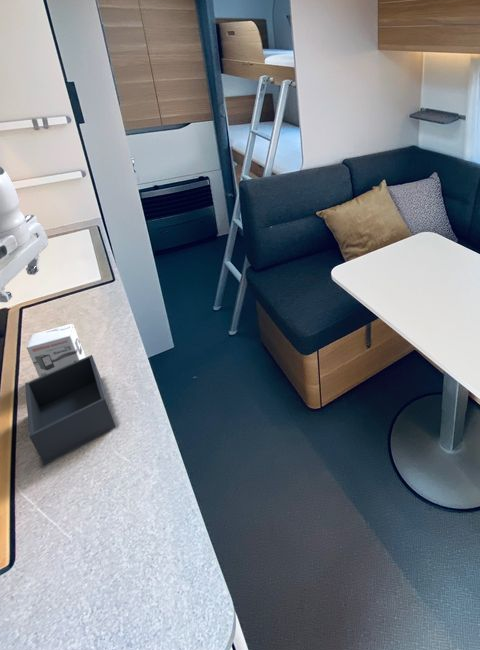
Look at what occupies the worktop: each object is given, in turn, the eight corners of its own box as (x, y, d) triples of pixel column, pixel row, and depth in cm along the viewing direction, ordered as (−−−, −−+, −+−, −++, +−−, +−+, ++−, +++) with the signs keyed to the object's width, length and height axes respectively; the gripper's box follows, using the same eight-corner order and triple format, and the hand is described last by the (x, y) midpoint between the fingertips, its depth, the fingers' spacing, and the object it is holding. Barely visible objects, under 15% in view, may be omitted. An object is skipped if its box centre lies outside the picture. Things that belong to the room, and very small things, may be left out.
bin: (38, 410, 90) (24, 383, 87) (101, 380, 97) (91, 354, 94) (44, 465, 79) (29, 436, 76) (115, 426, 86) (105, 399, 83)
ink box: (42, 386, 96) (24, 348, 91) (46, 372, 100) (29, 334, 95) (85, 373, 99) (70, 335, 95) (88, 359, 103) (73, 322, 99)
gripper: (18, 210, 96) (34, 258, 102) (-54, 263, 78) (-29, 317, 84) (48, 211, 97) (61, 259, 103) (-17, 264, 79) (5, 318, 85)
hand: (20, 285), depth 93 cm, fingers open, 8 cm apart
